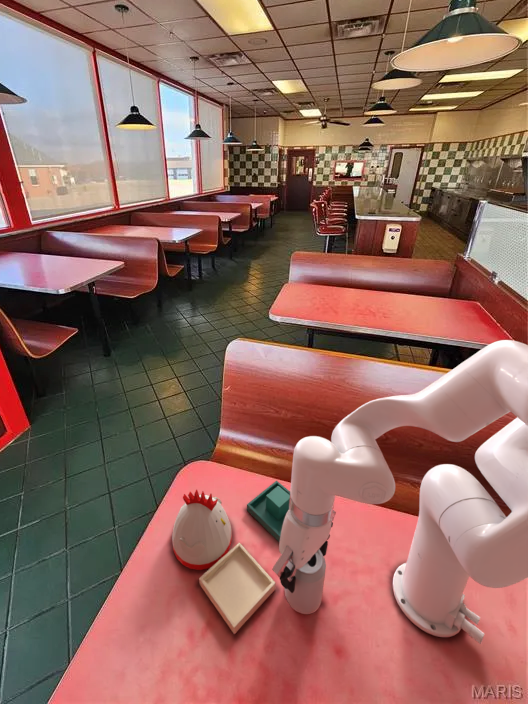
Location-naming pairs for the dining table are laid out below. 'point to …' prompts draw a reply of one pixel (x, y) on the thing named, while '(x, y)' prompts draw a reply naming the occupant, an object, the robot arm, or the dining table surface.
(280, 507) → the block
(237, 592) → the cream tray
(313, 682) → the dining table surface
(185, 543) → the kitchen timer
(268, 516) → the green tray
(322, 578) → the can
